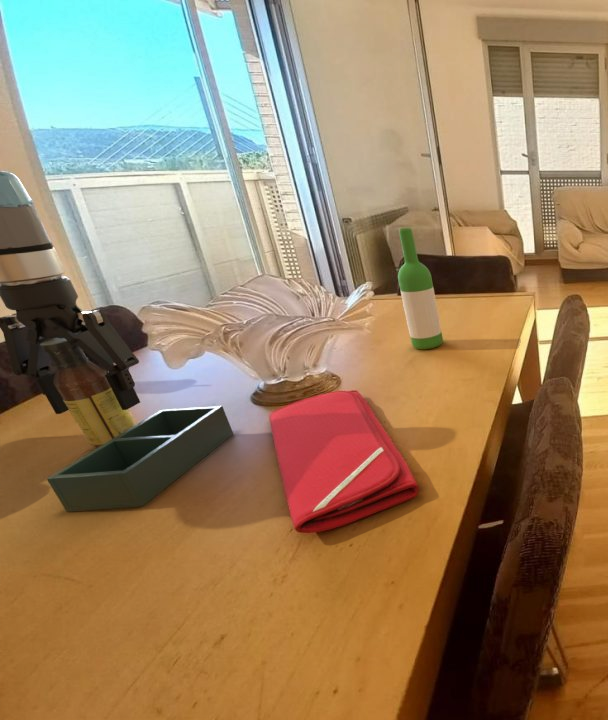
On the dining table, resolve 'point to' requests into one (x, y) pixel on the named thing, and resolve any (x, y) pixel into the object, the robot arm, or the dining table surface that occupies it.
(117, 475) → the dark green divided tray
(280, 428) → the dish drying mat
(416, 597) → the dining table surface
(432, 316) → the wine bottle
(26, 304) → the robot arm
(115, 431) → the sauce bottle
